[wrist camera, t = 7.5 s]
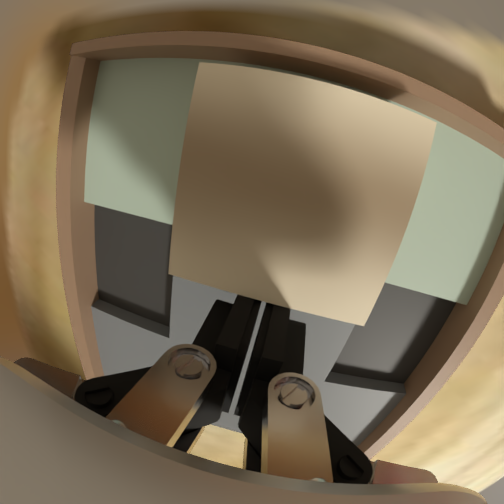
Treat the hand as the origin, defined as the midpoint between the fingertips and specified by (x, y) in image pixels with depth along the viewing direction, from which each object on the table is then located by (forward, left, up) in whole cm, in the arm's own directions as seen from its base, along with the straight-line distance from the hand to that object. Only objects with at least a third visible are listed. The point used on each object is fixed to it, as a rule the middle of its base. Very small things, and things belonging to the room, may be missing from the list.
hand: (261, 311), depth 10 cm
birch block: (+5, 0, -1) cm, 5 cm away
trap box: (-1, 0, -2) cm, 3 cm away
